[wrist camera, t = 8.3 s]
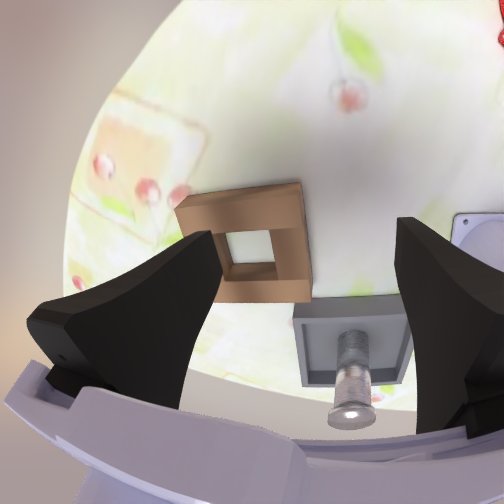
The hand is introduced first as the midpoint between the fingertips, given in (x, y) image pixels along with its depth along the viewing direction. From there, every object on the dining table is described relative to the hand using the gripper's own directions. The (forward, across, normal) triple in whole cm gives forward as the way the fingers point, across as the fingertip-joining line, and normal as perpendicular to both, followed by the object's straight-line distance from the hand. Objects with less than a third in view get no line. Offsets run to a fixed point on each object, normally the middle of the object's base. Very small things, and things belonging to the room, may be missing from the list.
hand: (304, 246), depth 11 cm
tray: (+10, -3, +18) cm, 21 cm away
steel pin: (+10, -3, +17) cm, 20 cm away
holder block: (+10, +6, +6) cm, 13 cm away
